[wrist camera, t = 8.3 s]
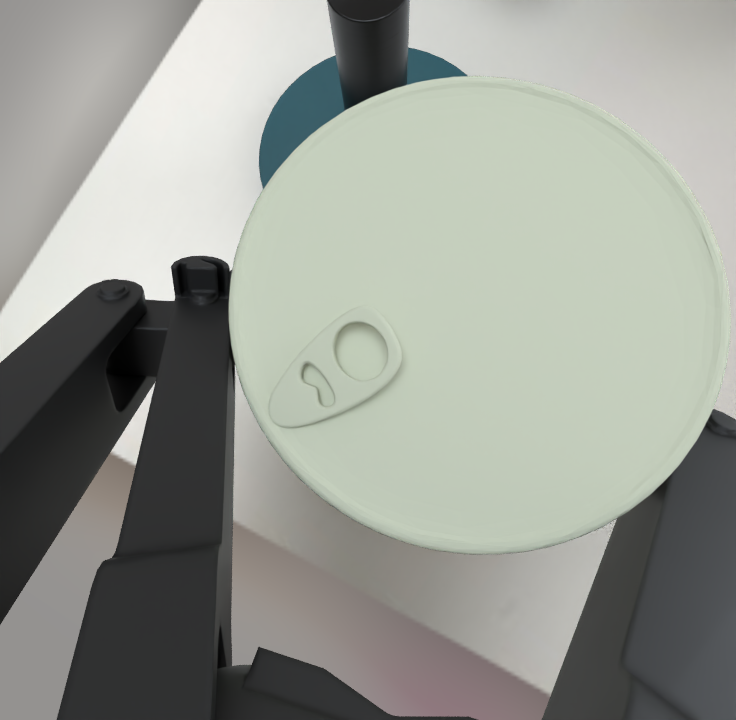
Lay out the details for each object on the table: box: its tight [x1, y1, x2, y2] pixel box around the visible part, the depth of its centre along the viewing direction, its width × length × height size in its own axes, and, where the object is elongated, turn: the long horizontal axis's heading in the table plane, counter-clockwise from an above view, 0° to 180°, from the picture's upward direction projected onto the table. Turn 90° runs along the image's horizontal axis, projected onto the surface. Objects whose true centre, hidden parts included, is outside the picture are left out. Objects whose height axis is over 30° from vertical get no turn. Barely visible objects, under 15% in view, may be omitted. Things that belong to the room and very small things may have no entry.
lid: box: [259, 0, 467, 189], centre depth 20 cm, size 14×14×10 cm
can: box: [229, 76, 731, 554], centre depth 13 cm, size 9×9×12 cm
